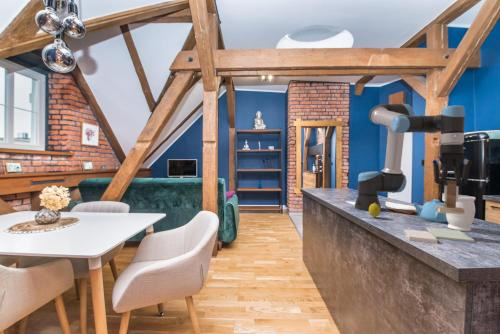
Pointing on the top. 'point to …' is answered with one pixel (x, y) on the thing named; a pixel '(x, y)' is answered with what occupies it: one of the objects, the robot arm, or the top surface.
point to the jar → (462, 220)
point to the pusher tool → (450, 200)
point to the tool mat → (449, 234)
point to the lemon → (374, 210)
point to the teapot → (431, 211)
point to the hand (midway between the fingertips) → (449, 201)
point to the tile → (420, 236)
